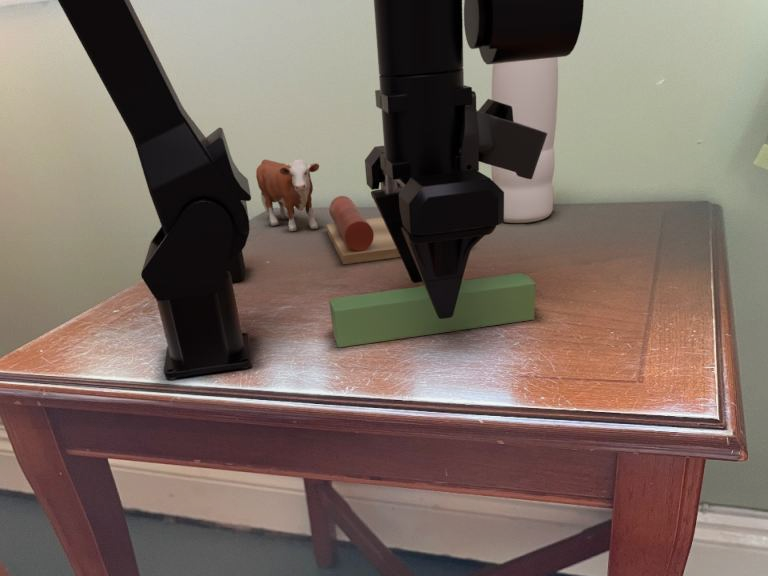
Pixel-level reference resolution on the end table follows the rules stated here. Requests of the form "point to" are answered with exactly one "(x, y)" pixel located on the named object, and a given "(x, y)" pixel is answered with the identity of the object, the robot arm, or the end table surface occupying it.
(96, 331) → the end table surface
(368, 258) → the rod stand
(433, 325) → the green bar
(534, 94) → the water bottle
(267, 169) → the bull figurine
